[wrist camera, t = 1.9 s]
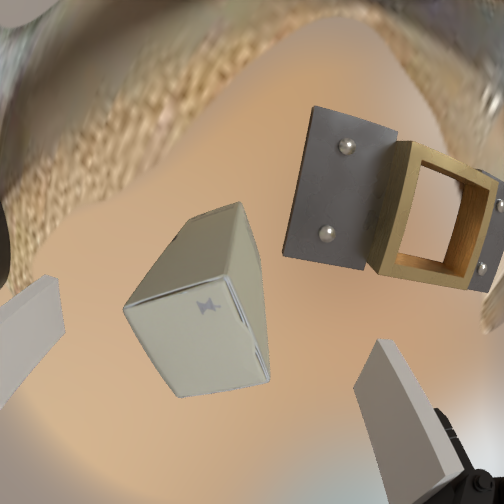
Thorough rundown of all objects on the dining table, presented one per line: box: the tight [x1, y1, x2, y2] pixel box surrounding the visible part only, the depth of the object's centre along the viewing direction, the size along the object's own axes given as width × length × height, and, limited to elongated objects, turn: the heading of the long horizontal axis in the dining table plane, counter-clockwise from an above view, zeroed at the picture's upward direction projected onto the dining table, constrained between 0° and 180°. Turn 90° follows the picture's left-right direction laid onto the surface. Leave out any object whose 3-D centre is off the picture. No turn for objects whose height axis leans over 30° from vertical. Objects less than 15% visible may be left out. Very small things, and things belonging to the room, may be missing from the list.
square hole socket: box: [282, 106, 504, 293], centre depth 19 cm, size 22×11×4 cm, turn 80°
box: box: [123, 202, 270, 398], centre depth 16 cm, size 5×4×13 cm
